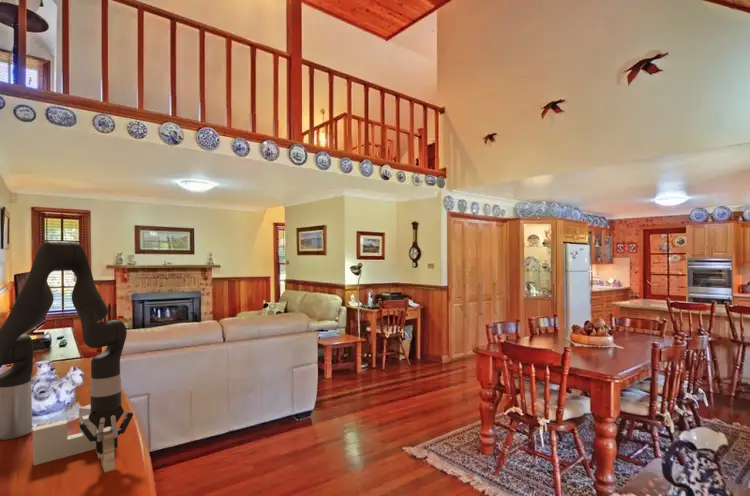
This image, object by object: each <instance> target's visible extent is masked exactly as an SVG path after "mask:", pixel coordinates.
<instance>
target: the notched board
mask: <svg viewBox="0 0 750 496" xmlns="http://www.w3.org/2000/svg"><path fill="white" fill-rule="evenodd" d="M88 417H89V415H87V416H82V422H83V421H85V420H86V419H88ZM89 425H90V426H89V428H88V429H89V430H90V432H91V433H92V435H96V434H95V425H94V424H93V423H92V422H90V423H89ZM110 428H111V427H110ZM92 450H96V441H92V442H90V441H89V440H88V438H87V437H86V436H85V434H84V433H83V431H82V433H79V432H78V433H75V434H70V435H68V420H67V419H65V420H61V421H56V422H52V423H51V422H50V423H46V424H43V425H38V426H34V427H33V426H32V463H33V466H37V465H40V464H44V463H48V462H51V461H56V460H60V459H64V458H67V457H70V456H73V455H78V454H82V453H85V452H89V451H92Z"/></svg>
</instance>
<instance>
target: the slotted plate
mask: <svg viewBox="0 0 750 496" xmlns="http://www.w3.org/2000/svg"><path fill="white" fill-rule="evenodd" d="M95 434H96V426H95ZM102 443H103V454H99V453H97V451H96V450H95V453H96V455H97V458H98V460H100V462H101V463H100V464H101V465H100V466H101V468H102V470H103V472H104V473H109V472H112V471H115V470H116V469H115V467H116V466H115V463H116V462H115V451H114V433H113V431H112V429H111V428H110V427H106V428H104V430H103V433H102Z"/></svg>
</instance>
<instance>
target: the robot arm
mask: <svg viewBox="0 0 750 496" xmlns="http://www.w3.org/2000/svg"><path fill="white" fill-rule="evenodd" d="M68 271H70V272H72V273H73V274H74V275H75V277H76V280H75V284H74V287H73V289H72V293H71V301H72V302H71V303H72V304H73V307H74V309H75V311H76V313H77V315H78V316H79V318H80V325H81V330H82V340H83V343H84V344H85V346H87V347H89V348H91V349H98V348H103V347H106V348H105V350H104V351H103V352H101V353H99V354H97V355H95V356H93V357H92V358H91V361H90V376H91V377H90V386H89V393H90V394H89V397H90V401H89V402H90V404H91V412H90V415H89V417H88V419H86V420H85V421H83V422H82V421H81V422H79V421H78V427H80V429H81V430H82V431H83V433H84V434H85V436H86V437H87V438H88V440H89V441H90V442H92V441H96V449H95V452H96V451H97V453H99V454H103V443H102V433H103V430H104V428H106V427H111V429H112V431H113V433H114V452H115V451H116V449H117V448H118V445H119V444H118V438H119V436H120V435H121V434H122V435H123V434H124V433H126V431H127V428H128V426H129V424H130V422H131V420H132V418H133V416H134V413H133V411H131V410H125V409H124V407H123V406H122V404H123V403H122V401H123V400H122V393H123V392H122V377H121V358H122V353H123V350H124V347H125V343H126V339H127V333H128V332H127V327H126V324H125V323H124V322H123V321H122V320H120V319H112V320H105V321H102V320H103V319H105V318H106V317H107V316H108V313H109V309H108V306H107V304H106V302H105V301H104V299H103V297H102V296H101V294H100V292H99V290H98V288H97V285H96V283H95V280H94V276H93V273H92V270H91V266H90V263H89V260H88V257H87V254H86V252H85V249H84V247H83V246H82V245H81V244H80V243H78V242H76V241H66V240H65V241H62V240H47V241H44V242H43V243H41V245H40V246H39V248H38V250H37V252H36V255H35V257H34V259H33V262H32V265H31V268H30V271H29V274H28V276H27V278H26V280H25V282H24V284H23V287H22V288H21V290H20V292H19V293H18V296H17V297H16V299H15V300H14V302H13V304H12V308H11V309H10V311H9V313H8V316H7V318H5V320H4V323H3V324H2V326H1V328H0V367H1V366H7V365H12V366H11V367H10V368H9V369H7V370H6V371H4V372H3V373H1V374H0V441H3V440H4V441H5V440H11V439H12V440H13V439H16V438H20V437H23V436H25V435H27V434H29V433H31V432H33V416H32V415H33V413H32V412H33V410H32V409H33V408H32V405H33V403H32V401H33V399H32V397H33V395H32V375H33V370H34V369H33V368H34V367H33V366H34V342H33V338H32V337H31V336H30V335H29V334H27V333H26V332H28V331H30V330H31V329H32V328H34V327H35V326H37V325H38V324H40V322H42V321H43V320H44V319H45V317H46V316H47V314H48V313H49V311H50V309H51V307H52V305H53V303H54V294H53V292H52V289H51V287H50V285H49V284H48V280H49V279H48V278H49V276H50V275H51V273H53V272H68ZM121 417H122V421H121V424H120V425H119V428H118V426H117V424H118V421H119V420H120V419H121ZM90 422H92V423H93V424H94V425H95V426H96V435H92V433H91V432H90V430H89V429H88V428H89V426H90V425H89V423H90Z"/></svg>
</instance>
